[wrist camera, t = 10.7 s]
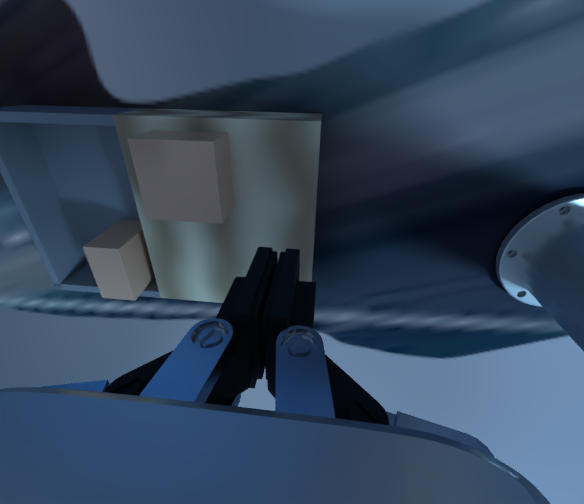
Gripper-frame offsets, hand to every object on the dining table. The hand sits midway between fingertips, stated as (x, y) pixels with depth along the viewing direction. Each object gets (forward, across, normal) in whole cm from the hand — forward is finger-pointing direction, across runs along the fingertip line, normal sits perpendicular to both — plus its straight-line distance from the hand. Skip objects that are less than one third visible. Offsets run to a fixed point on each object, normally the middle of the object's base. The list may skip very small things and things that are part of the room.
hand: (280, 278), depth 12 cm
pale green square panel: (+19, +7, +5) cm, 21 cm away
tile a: (+15, +17, +10) cm, 24 cm away
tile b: (+14, +9, 0) cm, 16 cm away
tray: (+19, +21, +4) cm, 28 cm away
